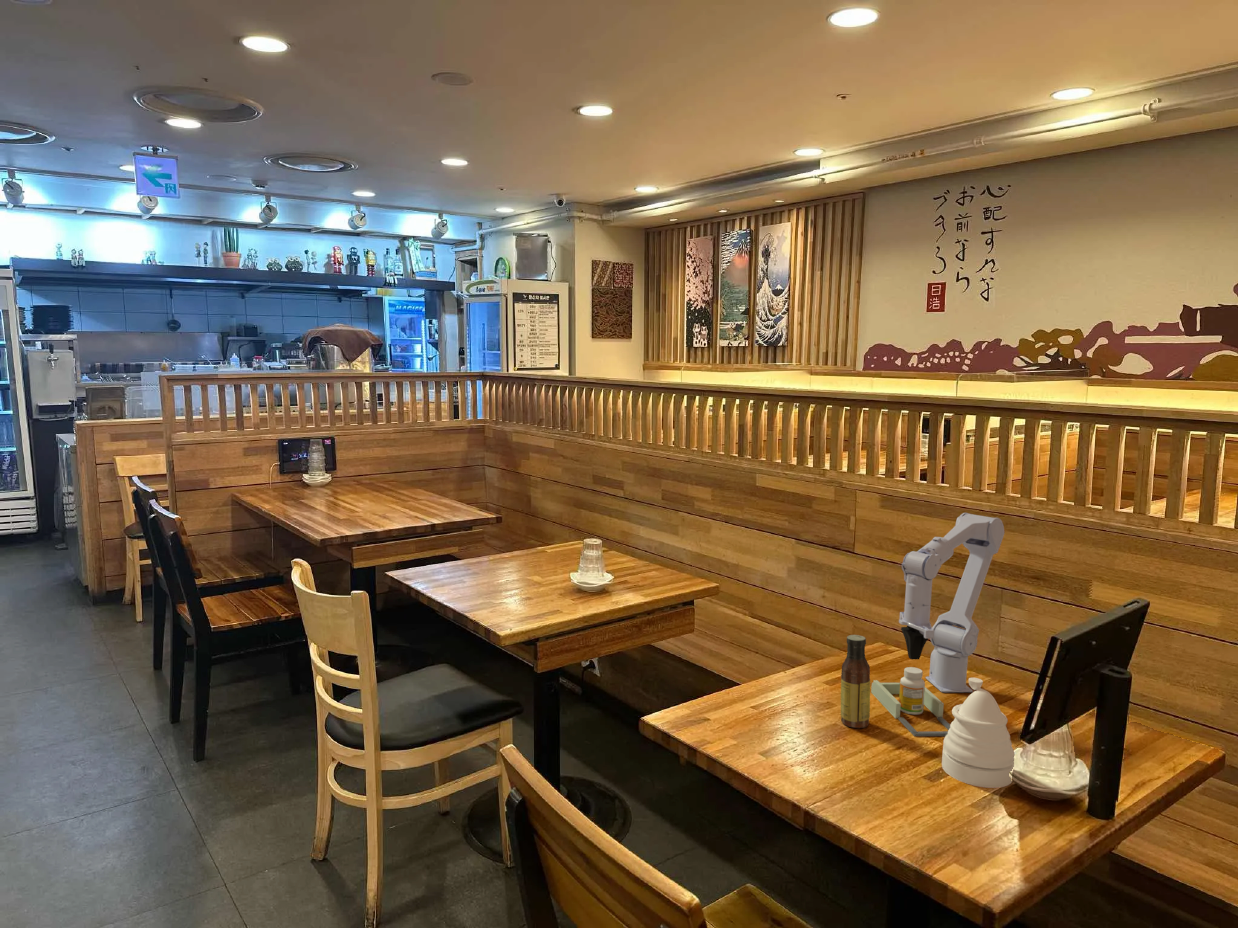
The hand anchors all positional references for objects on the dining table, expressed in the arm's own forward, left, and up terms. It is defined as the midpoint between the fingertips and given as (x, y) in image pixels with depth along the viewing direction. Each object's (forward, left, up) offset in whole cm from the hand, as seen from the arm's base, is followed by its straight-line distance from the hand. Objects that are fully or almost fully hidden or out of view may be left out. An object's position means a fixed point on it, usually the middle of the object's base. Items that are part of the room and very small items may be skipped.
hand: (913, 658), depth 194 cm
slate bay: (+14, -2, -11) cm, 18 cm away
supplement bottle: (+5, -2, -11) cm, 12 cm away
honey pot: (+34, -1, -11) cm, 36 cm away
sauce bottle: (+12, -18, -11) cm, 25 cm away
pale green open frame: (+3, -2, -11) cm, 11 cm away
